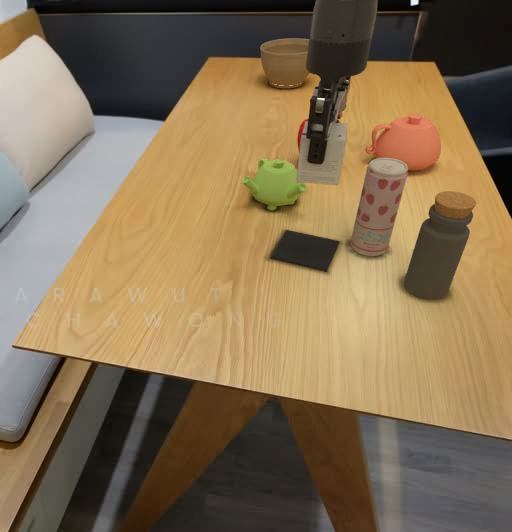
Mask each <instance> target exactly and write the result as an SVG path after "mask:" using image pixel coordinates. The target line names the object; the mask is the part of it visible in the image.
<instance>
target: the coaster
mask: <svg viewBox="0 0 512 532" xmlns="http://www.w3.org/2000/svg"><path fill="white" fill-rule="evenodd" d="M339 245H340V240H338V239H332V238H327V237H323V236H318V235H314V234H308V233H303V232H299V231H296V230H295V231H294V230H289V229H285V232H284V233H283V234H282V237H281V238H280V240H279V241H278V243H277V245H276V246H275V249H274V250H273V252H272V253H271V256H270V259H271V260H275V261H279V262H283V263H287V264H292V265H295V266H300V267H304V268H309V269H312V270H317V271H321V272H325V273H327V272H328V270H329V267H330V265H331V263H332V260H333V258H334V256H335V253H336V252H337V250H338V248H339V247H338V246H339Z"/></svg>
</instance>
